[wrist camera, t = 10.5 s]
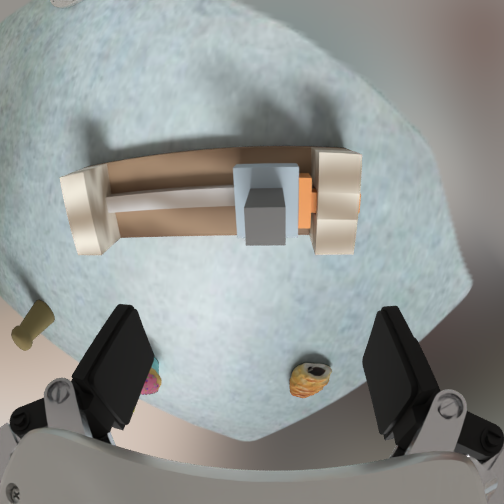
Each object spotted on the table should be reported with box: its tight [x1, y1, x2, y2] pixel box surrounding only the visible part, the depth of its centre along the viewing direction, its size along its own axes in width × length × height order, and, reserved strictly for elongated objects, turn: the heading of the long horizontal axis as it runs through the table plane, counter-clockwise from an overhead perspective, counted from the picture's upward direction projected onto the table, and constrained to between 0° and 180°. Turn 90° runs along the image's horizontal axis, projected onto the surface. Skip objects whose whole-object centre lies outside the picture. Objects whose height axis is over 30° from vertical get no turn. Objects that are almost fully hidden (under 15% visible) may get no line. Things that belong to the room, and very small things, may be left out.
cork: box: [11, 300, 55, 351], centre depth 39 cm, size 6×6×11 cm
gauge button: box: [298, 173, 361, 228], centre depth 26 cm, size 5×6×2 cm
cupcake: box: [141, 357, 161, 395], centre depth 41 cm, size 9×8×12 cm
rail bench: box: [60, 146, 362, 255], centre depth 28 cm, size 10×32×6 cm, turn 92°
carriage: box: [233, 163, 299, 245], centre depth 24 cm, size 7×6×10 cm
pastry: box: [290, 363, 332, 398], centre depth 44 cm, size 9×7×4 cm
